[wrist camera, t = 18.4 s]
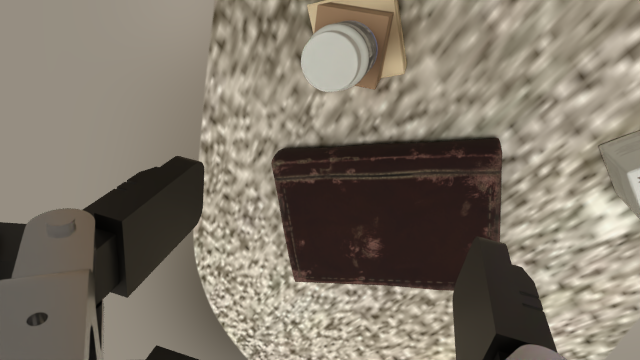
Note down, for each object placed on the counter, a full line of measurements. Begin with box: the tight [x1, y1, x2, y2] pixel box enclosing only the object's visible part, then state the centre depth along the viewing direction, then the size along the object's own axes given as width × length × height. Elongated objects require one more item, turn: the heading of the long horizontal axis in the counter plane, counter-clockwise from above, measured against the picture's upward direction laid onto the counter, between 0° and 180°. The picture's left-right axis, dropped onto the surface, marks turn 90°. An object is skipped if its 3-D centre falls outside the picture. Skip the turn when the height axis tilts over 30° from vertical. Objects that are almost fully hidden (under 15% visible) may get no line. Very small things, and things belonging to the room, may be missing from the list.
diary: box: [272, 138, 502, 290], centre depth 51 cm, size 19×25×5 cm
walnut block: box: [314, 2, 394, 89], centre depth 38 cm, size 6×6×5 cm
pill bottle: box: [301, 21, 378, 92], centre depth 32 cm, size 5×5×8 cm
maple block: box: [307, 0, 407, 78], centre depth 42 cm, size 8×8×5 cm
